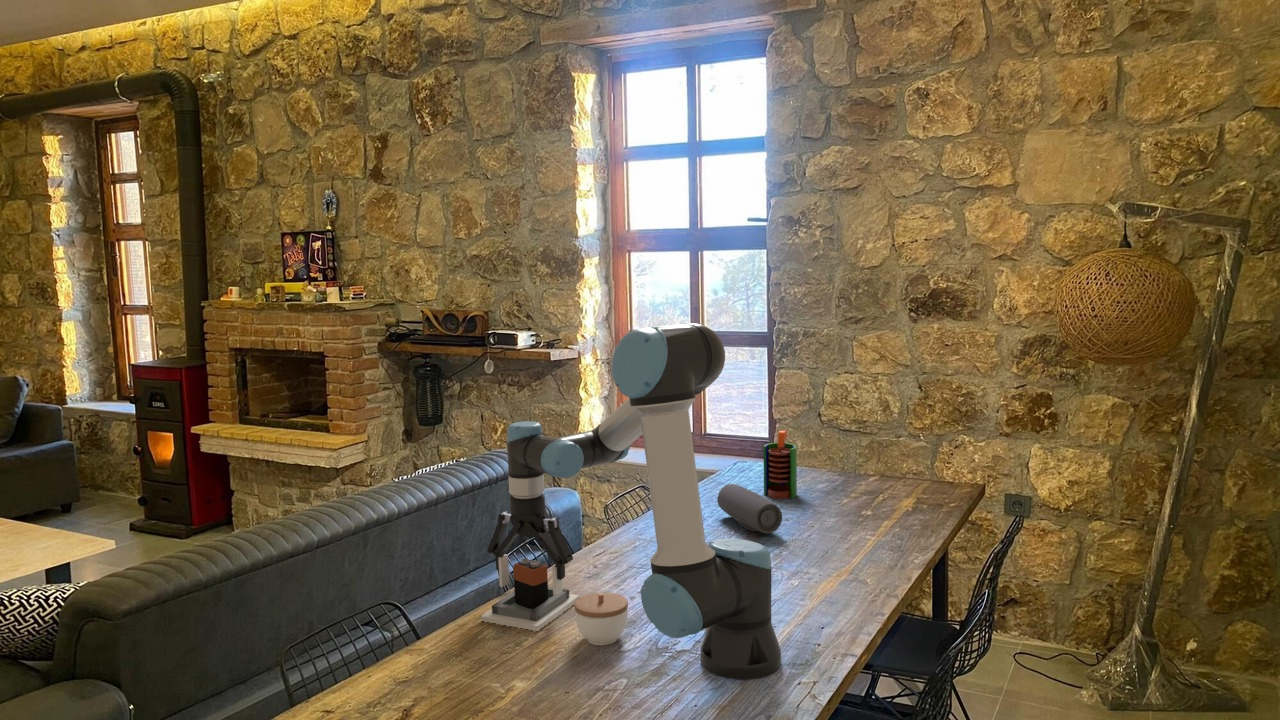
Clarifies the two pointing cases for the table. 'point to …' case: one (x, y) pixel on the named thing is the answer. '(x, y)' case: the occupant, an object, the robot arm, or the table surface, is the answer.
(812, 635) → the table surface
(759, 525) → the bluetooth speaker
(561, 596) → the charging dock
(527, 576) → the battery
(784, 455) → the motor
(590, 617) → the lidded jar
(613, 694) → the table surface
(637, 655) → the table surface
